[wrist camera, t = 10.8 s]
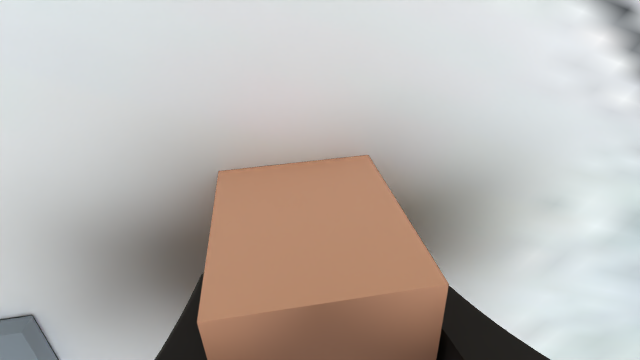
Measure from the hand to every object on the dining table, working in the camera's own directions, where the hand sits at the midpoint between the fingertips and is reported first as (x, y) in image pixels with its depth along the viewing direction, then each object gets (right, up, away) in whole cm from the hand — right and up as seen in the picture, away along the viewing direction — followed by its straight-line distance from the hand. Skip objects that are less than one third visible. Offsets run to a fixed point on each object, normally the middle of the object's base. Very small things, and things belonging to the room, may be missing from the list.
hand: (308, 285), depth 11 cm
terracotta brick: (0, +1, +1) cm, 2 cm away
